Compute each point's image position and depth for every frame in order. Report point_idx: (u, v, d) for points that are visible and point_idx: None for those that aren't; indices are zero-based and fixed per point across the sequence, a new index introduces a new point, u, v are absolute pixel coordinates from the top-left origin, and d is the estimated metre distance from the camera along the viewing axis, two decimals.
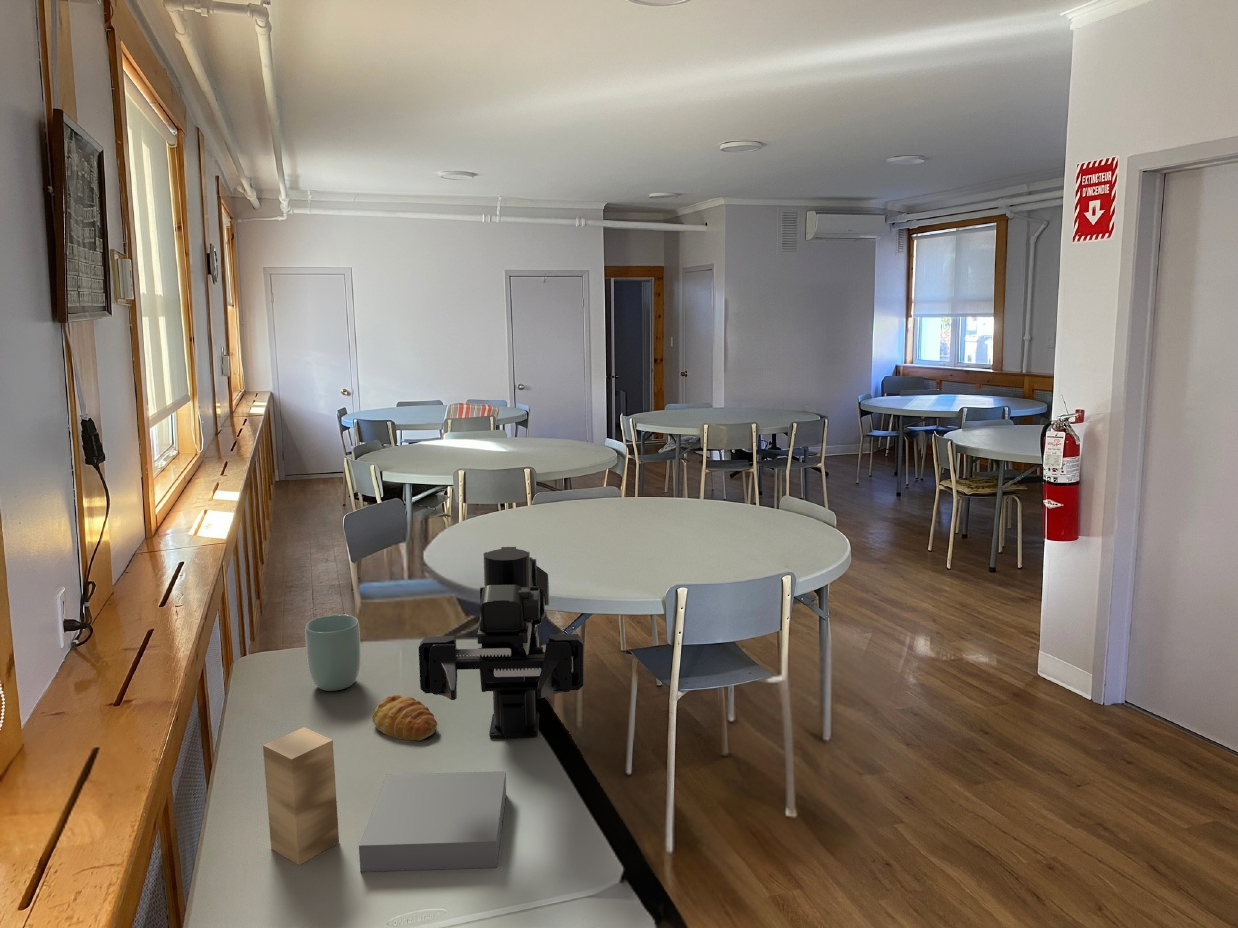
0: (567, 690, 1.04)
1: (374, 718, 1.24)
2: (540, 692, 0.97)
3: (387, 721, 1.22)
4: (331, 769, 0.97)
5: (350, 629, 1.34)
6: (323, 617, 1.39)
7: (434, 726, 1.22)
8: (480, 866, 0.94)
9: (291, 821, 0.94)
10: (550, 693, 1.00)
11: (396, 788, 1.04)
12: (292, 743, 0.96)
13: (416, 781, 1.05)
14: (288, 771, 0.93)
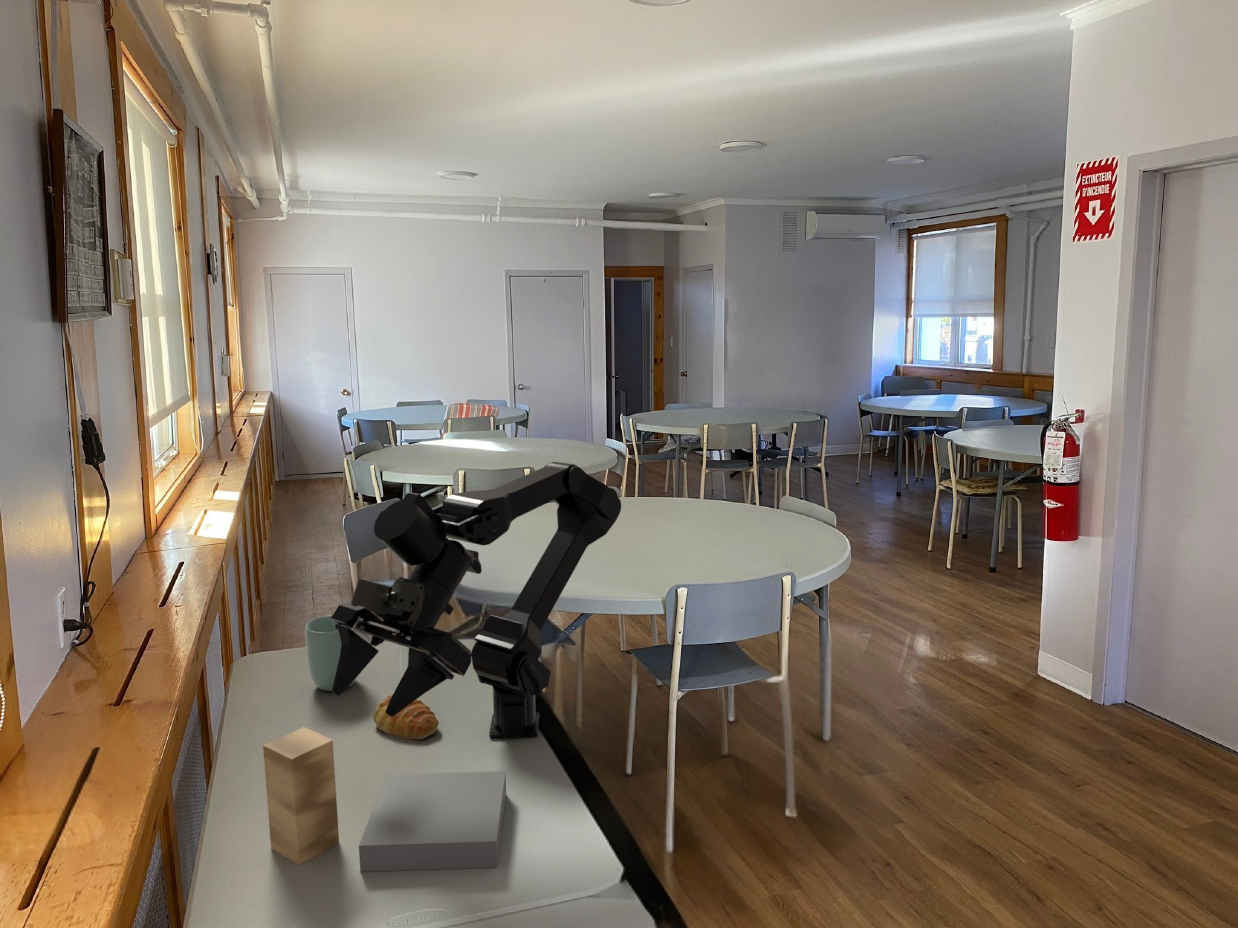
0: None
1: (375, 717, 1.24)
2: (388, 714, 0.99)
3: (388, 720, 1.22)
4: (331, 769, 0.97)
5: None
6: (323, 617, 1.39)
7: (435, 725, 1.22)
8: (480, 866, 0.94)
9: (291, 821, 0.94)
10: (416, 697, 1.01)
11: (396, 788, 1.04)
12: (292, 743, 0.96)
13: (416, 781, 1.05)
14: (288, 771, 0.93)
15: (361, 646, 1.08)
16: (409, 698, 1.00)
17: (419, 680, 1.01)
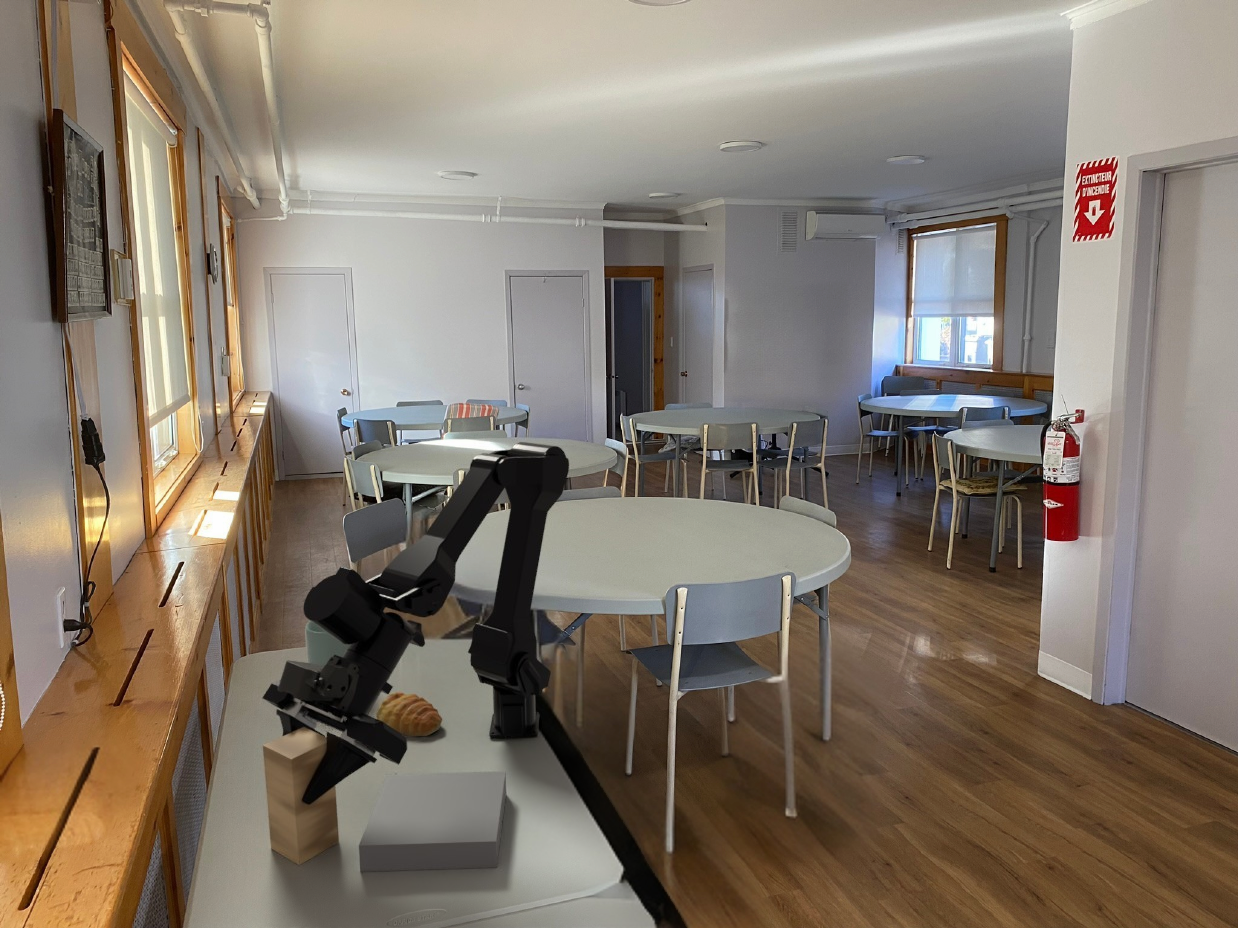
0: (372, 762, 0.97)
1: (378, 715, 1.25)
2: (305, 802, 0.94)
3: (392, 718, 1.23)
4: None
5: None
6: None
7: (439, 722, 1.23)
8: (480, 866, 0.94)
9: (291, 821, 0.94)
10: (336, 783, 0.96)
11: (396, 788, 1.04)
12: (292, 743, 0.96)
13: (416, 781, 1.05)
14: (288, 771, 0.93)
15: None
16: (328, 784, 0.95)
17: (339, 765, 0.96)
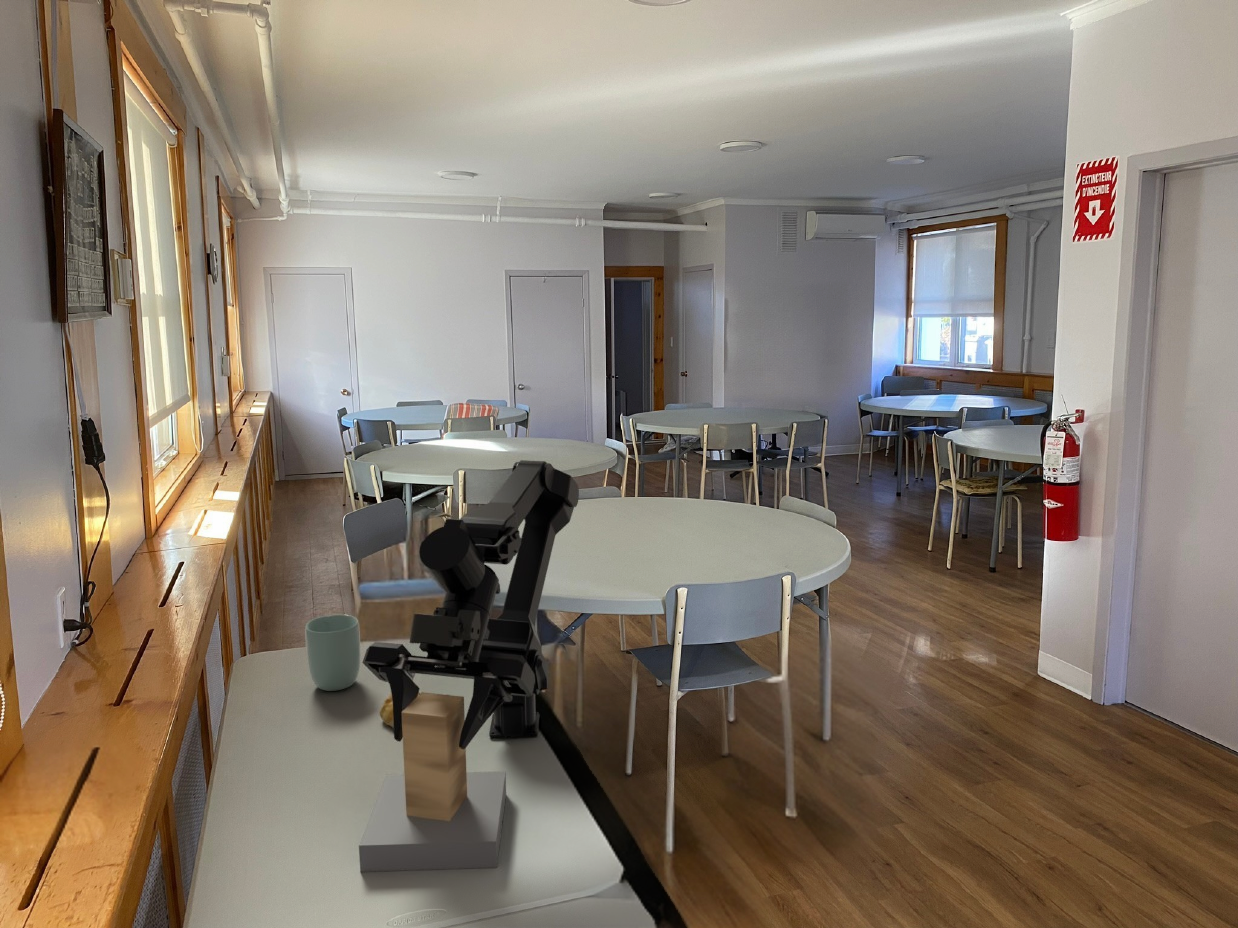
0: (507, 701, 1.02)
1: (382, 713, 1.25)
2: (462, 747, 0.96)
3: None
4: None
5: (350, 629, 1.34)
6: (323, 617, 1.39)
7: None
8: (480, 866, 0.94)
9: (441, 779, 0.97)
10: (481, 725, 0.99)
11: (396, 788, 1.04)
12: (428, 705, 0.98)
13: None
14: (439, 730, 0.96)
15: (409, 686, 1.02)
16: (477, 727, 0.98)
17: (483, 707, 0.99)
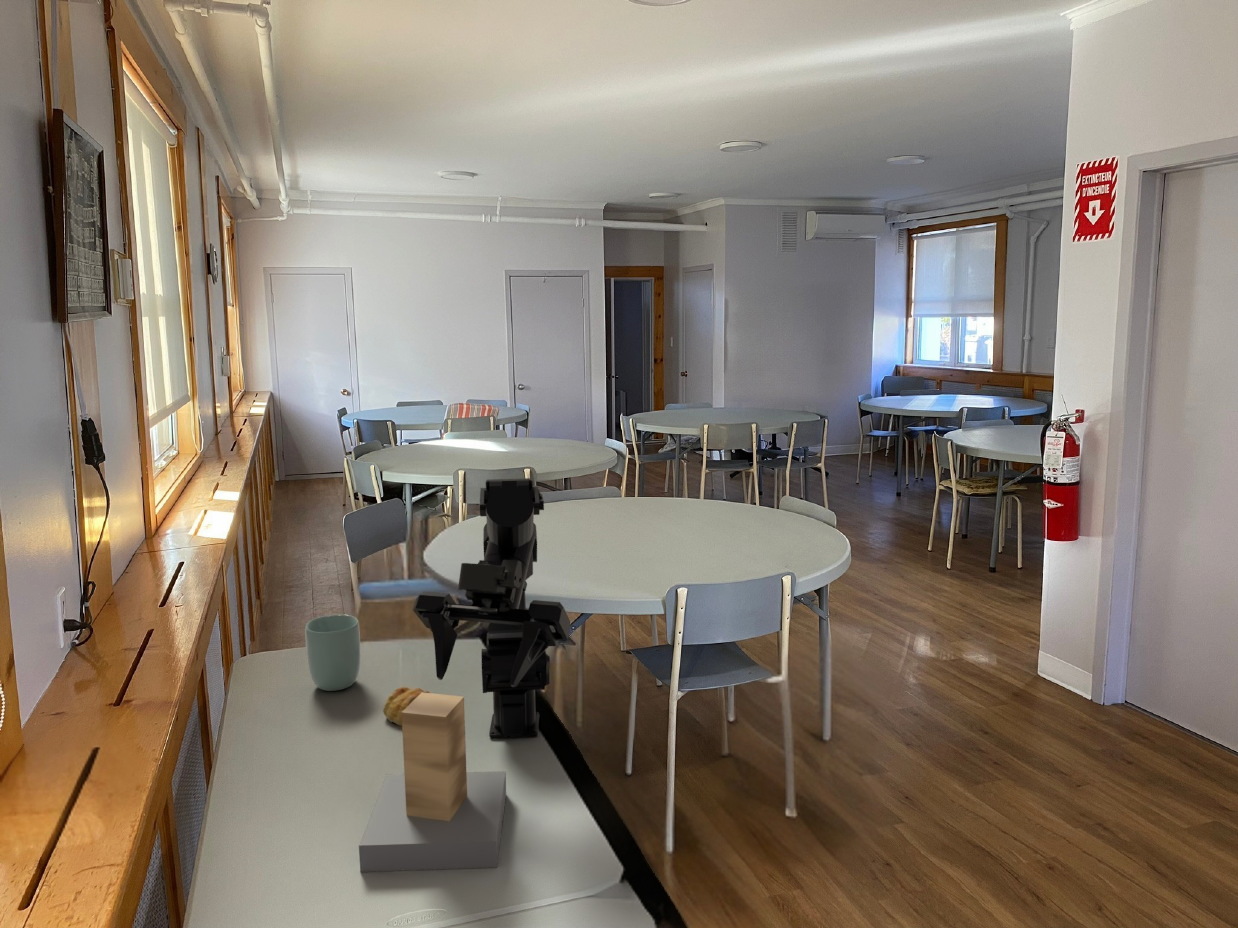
0: (552, 645, 1.11)
1: (386, 710, 1.26)
2: (513, 685, 1.06)
3: (400, 712, 1.25)
4: (463, 725, 1.00)
5: (350, 629, 1.34)
6: (323, 617, 1.39)
7: None
8: (480, 866, 0.94)
9: (441, 779, 0.97)
10: (529, 666, 1.08)
11: (396, 788, 1.04)
12: (428, 705, 0.98)
13: None
14: (439, 730, 0.96)
15: (449, 631, 1.11)
16: (526, 668, 1.08)
17: (531, 650, 1.08)
